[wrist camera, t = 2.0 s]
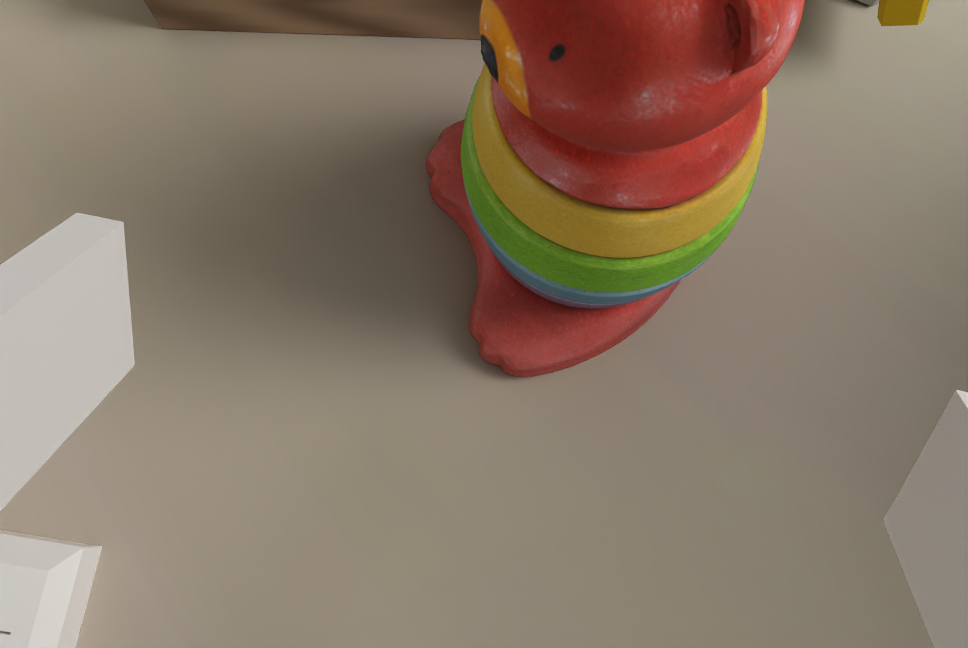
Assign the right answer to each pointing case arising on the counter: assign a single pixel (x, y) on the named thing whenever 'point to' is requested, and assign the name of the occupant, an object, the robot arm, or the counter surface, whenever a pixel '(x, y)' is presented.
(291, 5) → the plinth
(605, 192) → the stacking bear
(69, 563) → the white beveled block
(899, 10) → the toy computer monitor
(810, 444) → the counter surface
